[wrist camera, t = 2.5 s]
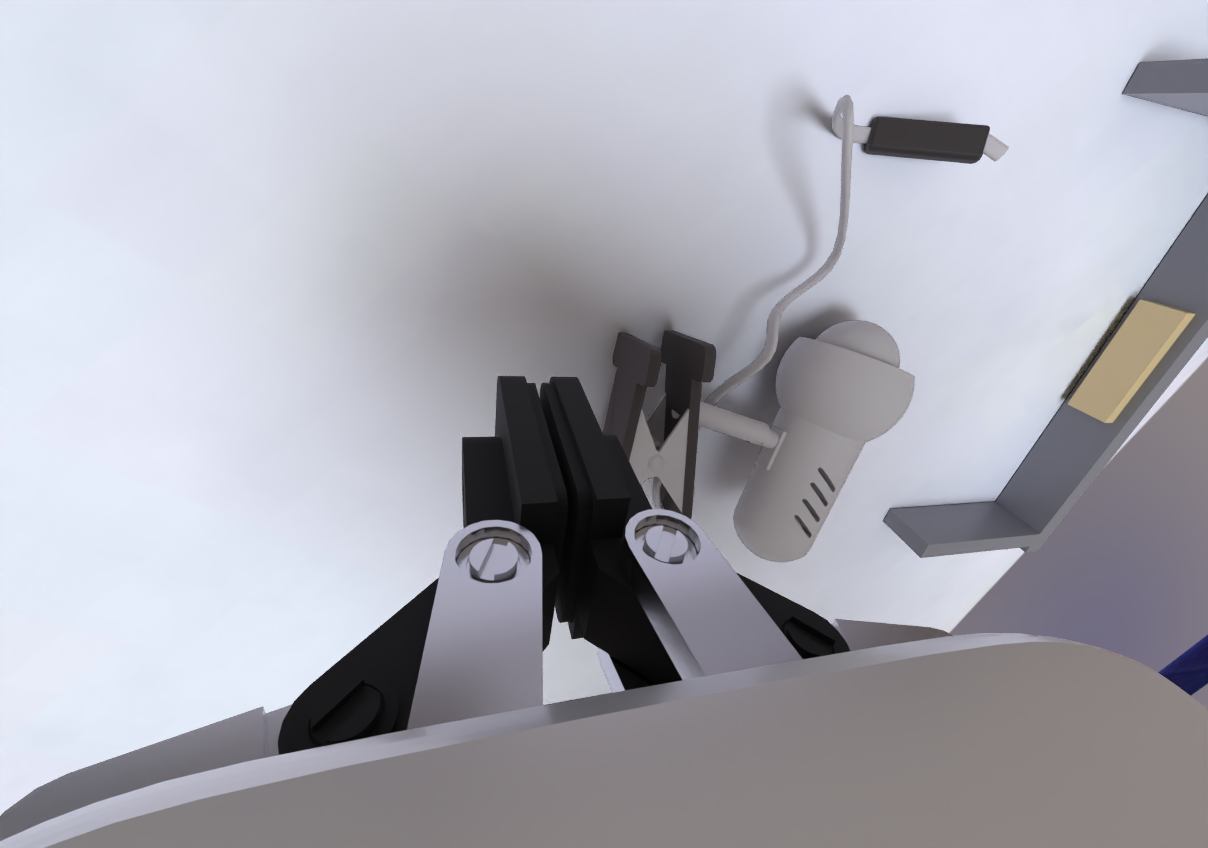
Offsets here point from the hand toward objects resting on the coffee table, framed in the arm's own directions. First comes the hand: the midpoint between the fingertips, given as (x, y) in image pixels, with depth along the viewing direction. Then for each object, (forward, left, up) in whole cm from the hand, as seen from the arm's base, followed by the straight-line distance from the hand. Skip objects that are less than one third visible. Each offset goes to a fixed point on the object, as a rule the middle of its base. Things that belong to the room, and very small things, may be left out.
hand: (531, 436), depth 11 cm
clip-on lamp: (0, -11, -9) cm, 14 cm away
